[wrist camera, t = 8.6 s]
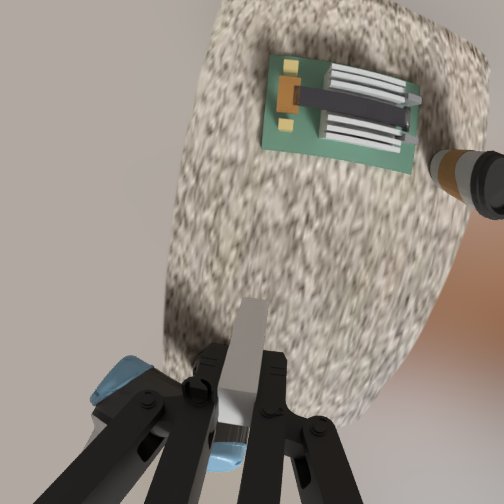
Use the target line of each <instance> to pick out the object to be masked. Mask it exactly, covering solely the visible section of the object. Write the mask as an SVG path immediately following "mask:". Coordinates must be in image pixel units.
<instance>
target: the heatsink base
mask: <svg viewBox="0 0 504 504" xmlns="http://www.w3.org/2000/svg"><path fill="white" fill-rule="evenodd" d="M279 76H289V77H297V78H301V85H300V86H304V87H311V88H318V89H324V90H330V91H335V92H340V93H345V94H350V95H355V96H359V97H363V98H367V99H371V100H375V101H379V102H383V103H387V104H390V105H394V106H397V107H400V108H403V106H407V107H410V108H411V117H410V128H409V133H408V132H403V131H401V129H402V128H401V127H397V126H394V125H390V124H386V123H383V122H379V121H375V120H370V119H366V118H362V117H357V116H353V115H348V114H343V113H337V112H332V111H326V110H320V109H314V108H307V107H299V109H298V115H297V114H289V113H280V112H276V110H277V98H278V87H279ZM419 91H420V86H419V85H416V84H414V83H411V82H408V81H405V80H402V79H398V78H395V77H392V76H388V75H385V74H381V73H378V72H374V71H370V70H366V69H362V68H358V67H353V66H349V65H344V64H339V63H333V62H328V61H322V60H315V59H308V58H300V57H291V56H281V55H270V58H269V69H268V81H267V92H266V103H265V114H264V126H263V137H262V148H261V149H264V150H274V151H283V152H291V153H299V154H307V155H314V156H321V157H327V158H333V159H339V160H345V161H350V162H356V163H361V164H366V165H371V166H376V167H380V168H385V169H389V170H394V171H398V172H402V173H406V174H410V175H411V171H412V165H413V158H414V151H415V145H418V139H419V138H418V137H416V133H417V123H418V110H419V104H422V97H420V96H419Z"/></svg>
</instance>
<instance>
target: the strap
mask: <svg viewBox="0 0 504 504" xmlns="http://www.w3.org/2000/svg"><path fill="white" fill-rule="evenodd" d="M300 85H301V78H297V77H289V76H279V87H278V98H277V110H276V112H280V113H289V114H297V115H298V109H299V107H307V108H314V109H320V110H326V111H332V112H337V113H343V114H348V115H353V116H357V117H362V118H366V119H370V120H375V121H379V122H383V123H386V124H390V125H394V126H397V127H401V128H402V129H401V131H403V132H408V133H409V128H410V117H411V108H410V107H407V106H403V108H400V107H397V106H394V105H390V104H387V103H383V102H379V101H375V100H371V99H367V98H363V97H359V96H355V95H350V94H345V93H340V92H335V91H330V90H324V89H318V88H311V87H304V86H300Z"/></svg>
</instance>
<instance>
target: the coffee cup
mask: <svg viewBox="0 0 504 504" xmlns="http://www.w3.org/2000/svg"><path fill="white" fill-rule="evenodd" d="M430 173H431V176H432V179H433V181H434V183H435V184H436V185H437V186H438V187H439V188H441V189H442V190H444V191H446V192H447V193H448V194H450V195H452V196H454V197H455V198H457V199H458V200H460V201H462V202H463V203H465V204H467V205H469V206H471V207H472V208H474V209H476V210H477V211H478V212H479V214H480V215H482V216H484V217H486V218H489V219H492V220H498V219H501V220H502V219H504V155H503V154H500V153H497V152H495V151H487V152H482V151H474V150H441V151H439V152H437V153H436V154H435V155H434V157H433V159H432V161H431V164H430Z"/></svg>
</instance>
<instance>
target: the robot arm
mask: <svg viewBox="0 0 504 504" xmlns="http://www.w3.org/2000/svg"><path fill="white" fill-rule="evenodd" d="M268 306H269V300H261V299H254V298H246V297H243V298H242V301H241V305H240V309H239V312H238V316H237V319H236V323H235V326H234V330H233V334H232V337H231V341H230V344H229V346H227V345H221V344H215V343H211V344H210V345H209V346H208V347H207V348H206V349H205V350H204V351H202V352H201V353H200V354H199V355H198V356H197V358H196V361H195V363H194V366H193V376H192V377H189V378H187V379H186V380H184V382H183V383H182V384H181V383H179V382H177V381H176V380H174V379H172V378H171V377H169V376H167V375H166V374H164V373H162V372H161V371H159V370H157V369H156V368H154V366H153V365H149V364H148V363H146V362H144V361H142V360H140V359H139V358H137V357H136V356H132V355H130V356H126V357H124V358H123V359H122V360H120V361H119V362H118V364H116V366H115V367H114V368H113V369H112V370H111V371H110V372H109V373H108V374H107V376H106V377H105V378H104V379H103V381H102V382H101V383H100V384H99V386H98V387H97V389H96V390H95V392H94V393H93V394H92V396H91V397H90V402H91V403H92V405H93V406H96V407H95V409H94V411H93V413H92V414H91V416H92V420H93V422H94V431H93V432H92V434H91V436H90V438H89V440H88V442H87V444H86V445H85V447H84V449H83V451H82V453H81V454H80V455H79V456H78V457H77V458H76V459H75V460H74V461H73V462H72V463H71V464H70V465H69V466H68V467H67V469H66V470H65V471H64V472H63V473H62V474H61V475H60V476H59V477H58V478H57V479H56V480H55V481H54V483H52V484H51V485H50V486H49V488H48V489H47V490H46V491H45V492H44V493H43V494H42V495H41V496H40V497H39V498H38V499H37V500H36V501H35V502H34V503H33V504H120V502H121V501H122V500H123V499H124V497H125V496H126V495H127V494H128V492H129V491H130V490H131V489H132V487H133V486H134V485H135V483H136V482H137V481H138V480H139V478H140V477H141V476H142V474H143V473H144V472H145V471H146V469H147V468H148V467H149V465H150V464H151V462H152V461H153V460H154V459H155V457H156V456H157V455H158V453H159V452H160V451H161V449H162V448H163V447H164V446H165V447H164V449H163V453H162V455H161V458H160V460H159V463H158V466H157V469H156V471H155V474H154V477H153V480H152V483H151V485H150V488H149V491H148V494H147V497H146V499H145V502H144V504H198V501H199V497H200V494H201V490H202V486H203V482H204V478H205V474H206V472H226V471H231V470H234V469H236V468H238V467H239V466H240V465H241V464H242V462H243V459H244V455H245V452H246V456H245V462H244V468H243V473H242V479H241V484H240V490H239V495H238V501H237V504H280V496H281V484H282V473H283V460H284V455H286V456H289V457H290V458H291V462H292V466H293V470H294V474H295V479H296V482H297V487H298V491H299V495H300V499H301V503H302V504H363V502H362V499H361V496H360V493H359V490H358V487H357V485H356V482H355V479H354V476H353V474H352V471H351V468H350V466H349V463H348V460H347V458H346V454H345V452H344V449H343V446H342V444H341V441H340V438H339V436H338V433H337V430H336V428H335V425H334V424H333V422H332V421H331V420H330V419H328V418H327V417H324V416H313V417H310V418H308V419H307V418H304V417H301V416H298V415H296V414H294V413H293V412H291V411H290V410H289V409H288V407H287V405H286V401H285V397H286V375H287V359H286V357H285V355H284V353H283V352H275V351H266V350H263V346H264V338H265V330H266V322H267V314H268ZM249 427H250V432H249ZM248 433H249V438H248ZM247 440H248V443H247ZM246 449H247V450H246Z"/></svg>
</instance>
